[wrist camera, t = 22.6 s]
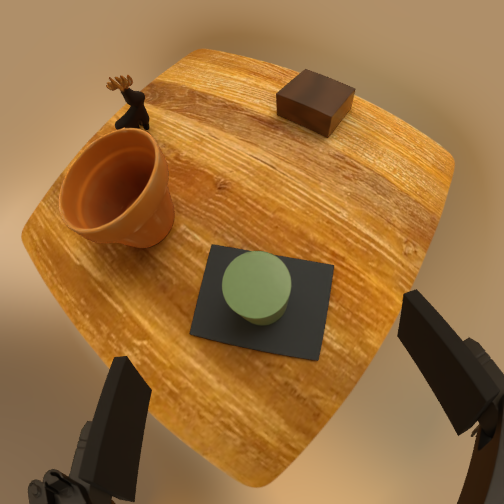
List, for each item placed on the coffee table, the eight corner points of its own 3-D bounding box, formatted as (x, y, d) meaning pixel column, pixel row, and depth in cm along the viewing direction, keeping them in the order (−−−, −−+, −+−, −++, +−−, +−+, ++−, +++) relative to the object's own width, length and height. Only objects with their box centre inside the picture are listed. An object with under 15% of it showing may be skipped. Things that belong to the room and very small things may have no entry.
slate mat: (333, 266, 34) (334, 265, 33) (317, 360, 30) (318, 360, 30) (212, 245, 36) (211, 244, 36) (190, 334, 33) (189, 334, 32)
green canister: (291, 281, 33) (296, 257, 24) (282, 329, 32) (284, 324, 22) (243, 273, 34) (230, 245, 25) (233, 320, 32) (214, 310, 23)
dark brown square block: (350, 108, 43) (355, 88, 38) (327, 138, 41) (331, 117, 36) (304, 88, 45) (305, 68, 41) (276, 114, 43) (275, 93, 39)
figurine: (167, 130, 45) (138, 67, 30) (137, 155, 43) (98, 96, 29) (141, 111, 48) (113, 58, 33) (114, 133, 46) (80, 82, 32)
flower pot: (141, 287, 35) (84, 259, 23) (95, 227, 39) (46, 188, 27) (212, 215, 38) (184, 159, 26) (156, 167, 42) (123, 113, 30)
